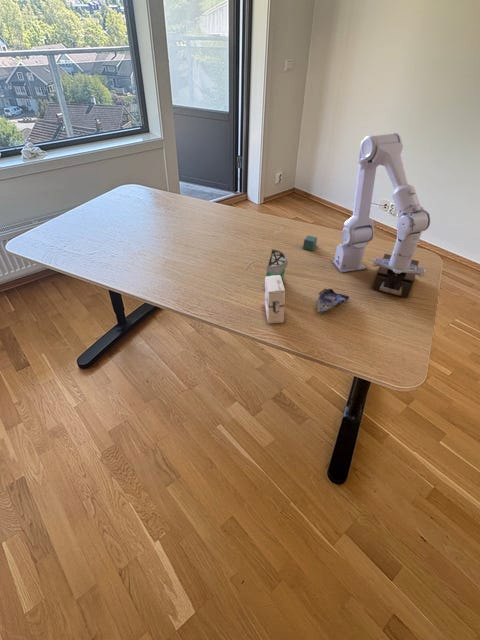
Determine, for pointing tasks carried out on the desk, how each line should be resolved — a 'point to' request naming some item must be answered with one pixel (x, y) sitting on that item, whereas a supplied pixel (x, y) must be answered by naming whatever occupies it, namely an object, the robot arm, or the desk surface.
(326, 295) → the snack package
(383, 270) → the cabinet
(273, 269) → the food container
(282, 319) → the ink box
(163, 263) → the desk surface
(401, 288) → the drawer
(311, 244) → the block
